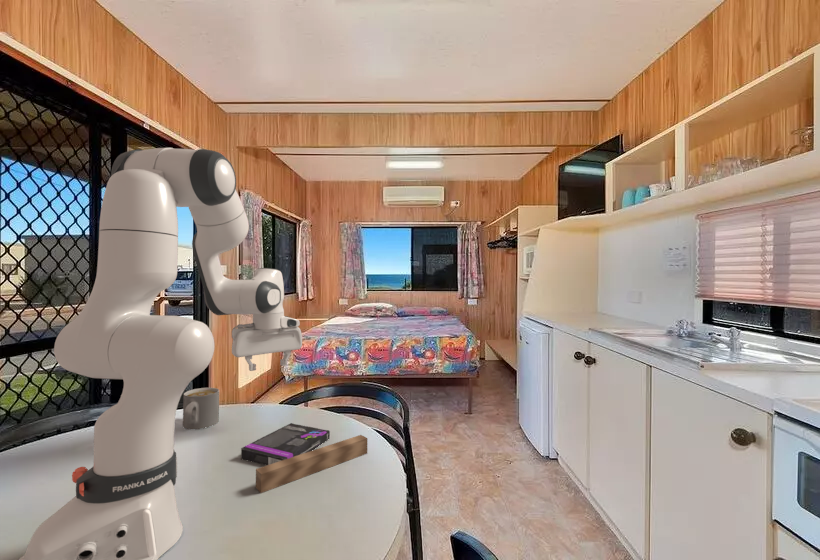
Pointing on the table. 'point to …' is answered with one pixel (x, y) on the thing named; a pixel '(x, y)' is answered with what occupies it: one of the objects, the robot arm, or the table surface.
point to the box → (284, 444)
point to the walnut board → (309, 463)
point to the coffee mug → (200, 408)
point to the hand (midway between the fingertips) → (268, 367)
